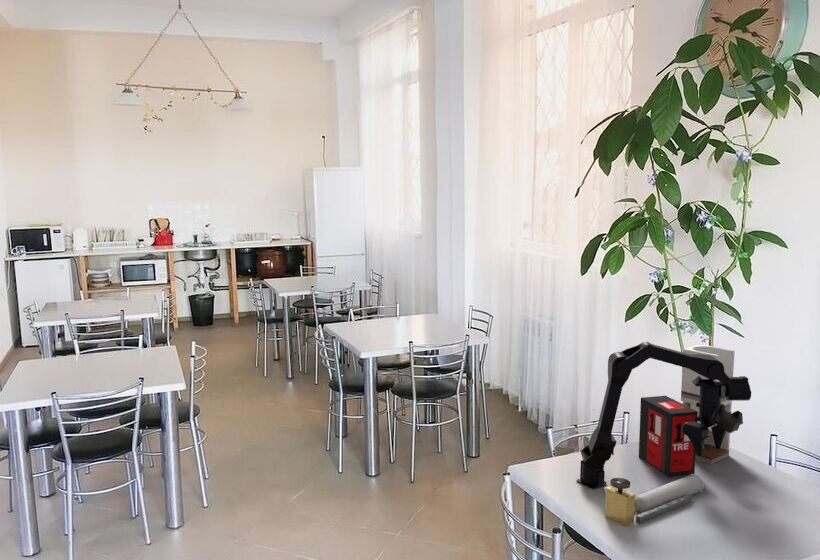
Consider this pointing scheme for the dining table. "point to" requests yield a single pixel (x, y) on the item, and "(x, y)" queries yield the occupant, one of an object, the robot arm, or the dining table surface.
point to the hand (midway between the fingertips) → (709, 452)
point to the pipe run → (623, 506)
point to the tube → (668, 493)
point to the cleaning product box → (666, 436)
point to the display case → (692, 395)
